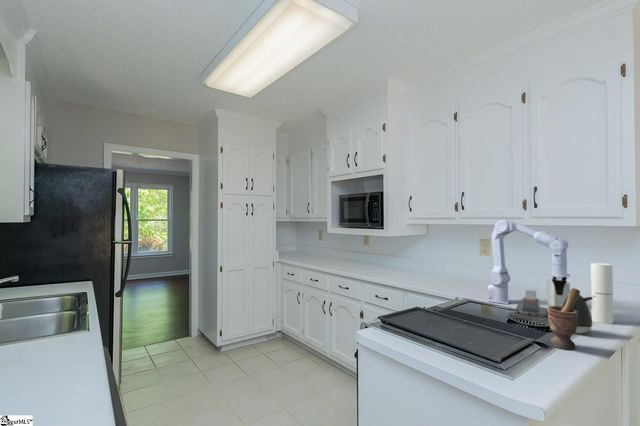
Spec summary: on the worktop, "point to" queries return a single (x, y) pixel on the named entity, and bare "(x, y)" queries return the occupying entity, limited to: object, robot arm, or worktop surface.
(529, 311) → the stand
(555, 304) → the supplement box
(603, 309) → the cylindrical container
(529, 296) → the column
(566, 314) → the mortar and pestle
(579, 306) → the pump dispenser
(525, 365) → the worktop surface
